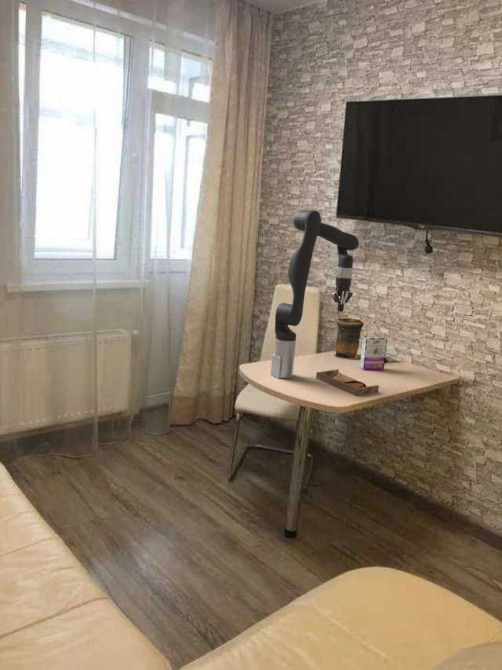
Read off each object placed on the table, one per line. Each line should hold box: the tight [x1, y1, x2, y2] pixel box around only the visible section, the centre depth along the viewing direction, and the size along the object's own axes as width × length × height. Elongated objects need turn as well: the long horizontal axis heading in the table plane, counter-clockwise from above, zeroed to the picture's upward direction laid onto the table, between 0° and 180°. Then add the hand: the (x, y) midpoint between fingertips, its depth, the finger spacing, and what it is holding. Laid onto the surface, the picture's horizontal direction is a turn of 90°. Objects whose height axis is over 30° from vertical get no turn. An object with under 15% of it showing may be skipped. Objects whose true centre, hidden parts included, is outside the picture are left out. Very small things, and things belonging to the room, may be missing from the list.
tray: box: [315, 368, 380, 397], centre depth 246 cm, size 13×26×3 cm, turn 35°
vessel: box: [333, 317, 365, 361], centre depth 295 cm, size 14×14×20 cm
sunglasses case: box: [332, 372, 368, 388], centre depth 246 cm, size 18×7×7 cm, turn 33°
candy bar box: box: [359, 335, 388, 371], centre depth 274 cm, size 11×5×16 cm, turn 101°
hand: (340, 311), depth 274 cm, fingers closed
